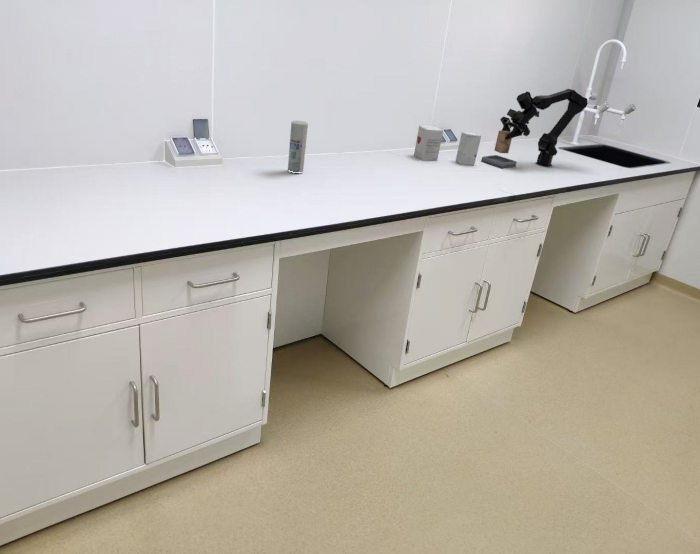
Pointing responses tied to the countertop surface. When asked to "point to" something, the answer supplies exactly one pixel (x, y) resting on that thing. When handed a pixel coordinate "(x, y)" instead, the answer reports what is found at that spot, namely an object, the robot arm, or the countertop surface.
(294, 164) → the spray can
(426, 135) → the supplement box
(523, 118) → the robot arm
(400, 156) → the countertop surface
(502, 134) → the walnut block
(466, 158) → the skincare box
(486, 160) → the grey tray
